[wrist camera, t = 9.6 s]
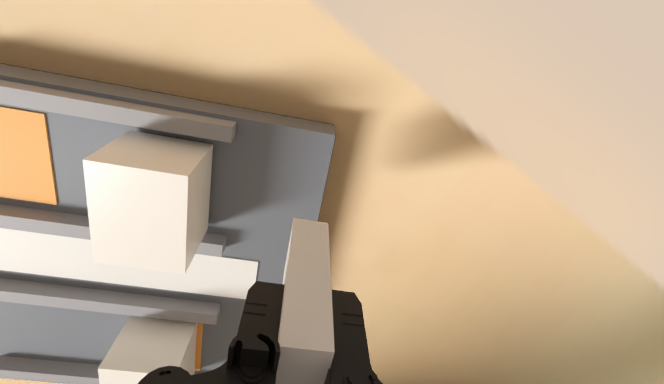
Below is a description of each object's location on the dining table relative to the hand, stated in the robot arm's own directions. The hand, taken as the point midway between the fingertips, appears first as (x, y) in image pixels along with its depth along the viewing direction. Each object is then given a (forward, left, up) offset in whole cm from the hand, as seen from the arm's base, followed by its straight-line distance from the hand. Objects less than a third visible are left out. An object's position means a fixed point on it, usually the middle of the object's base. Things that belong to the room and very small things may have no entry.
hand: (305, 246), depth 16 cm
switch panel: (-6, +11, -7) cm, 14 cm away
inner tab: (-12, +7, -5) cm, 15 cm away
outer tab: (0, +7, -5) cm, 8 cm away
